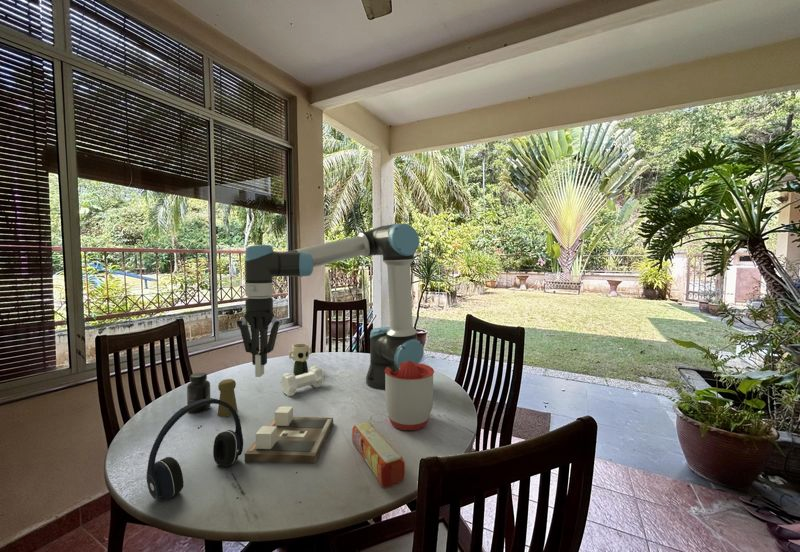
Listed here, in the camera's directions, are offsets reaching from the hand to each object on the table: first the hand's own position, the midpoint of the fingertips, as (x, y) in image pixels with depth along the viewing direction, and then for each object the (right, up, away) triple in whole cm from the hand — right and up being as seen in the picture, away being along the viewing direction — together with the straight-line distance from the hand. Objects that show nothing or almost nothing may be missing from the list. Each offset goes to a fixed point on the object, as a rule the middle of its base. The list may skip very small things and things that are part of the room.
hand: (259, 375), depth 100 cm
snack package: (+36, -18, -15) cm, 43 cm away
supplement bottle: (-27, -16, +14) cm, 34 cm away
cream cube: (+7, -15, -11) cm, 20 cm away
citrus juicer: (+44, -17, +7) cm, 48 cm away
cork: (-16, -16, +12) cm, 25 cm away
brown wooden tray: (+12, -17, -5) cm, 21 cm away
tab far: (+7, -15, +1) cm, 16 cm away
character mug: (-2, -14, +49) cm, 51 cm away
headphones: (-5, -18, -21) cm, 29 cm away
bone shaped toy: (+4, -15, +31) cm, 35 cm away
